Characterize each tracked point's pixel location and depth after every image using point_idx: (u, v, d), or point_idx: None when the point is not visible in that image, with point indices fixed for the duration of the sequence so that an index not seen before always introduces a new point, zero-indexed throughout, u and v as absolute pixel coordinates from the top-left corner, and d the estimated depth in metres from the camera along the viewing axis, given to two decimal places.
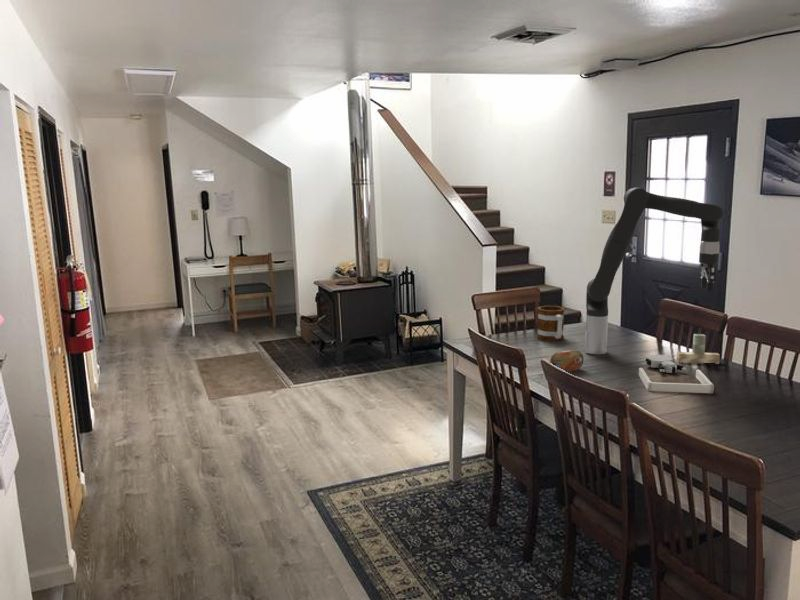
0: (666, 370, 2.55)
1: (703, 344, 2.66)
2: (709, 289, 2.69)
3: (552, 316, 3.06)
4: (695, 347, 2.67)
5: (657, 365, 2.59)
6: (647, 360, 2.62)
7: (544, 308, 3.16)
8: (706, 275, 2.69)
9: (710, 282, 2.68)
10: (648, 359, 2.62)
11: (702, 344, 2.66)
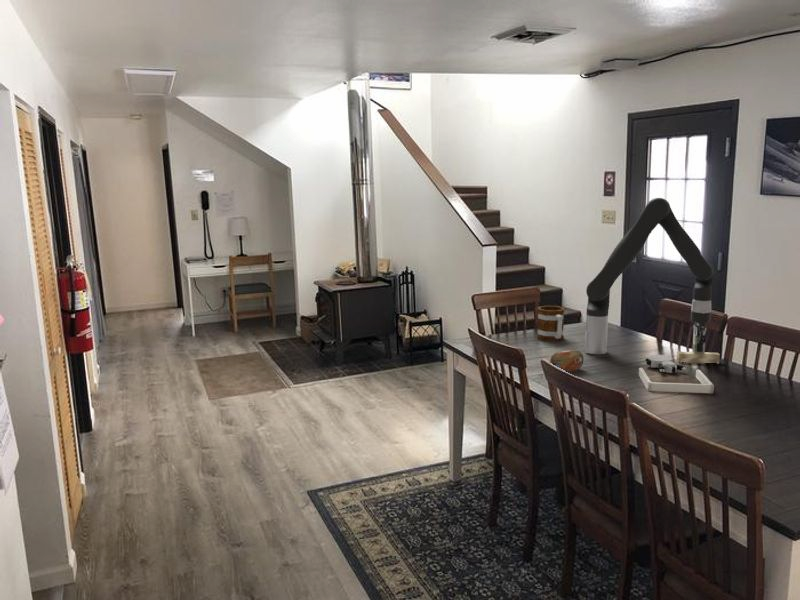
0: (666, 370, 2.55)
1: (703, 344, 2.66)
2: (699, 350, 2.65)
3: (552, 316, 3.06)
4: (695, 347, 2.67)
5: (657, 365, 2.59)
6: (647, 360, 2.62)
7: (544, 308, 3.16)
8: (697, 336, 2.65)
9: (700, 343, 2.64)
10: (648, 359, 2.62)
11: None
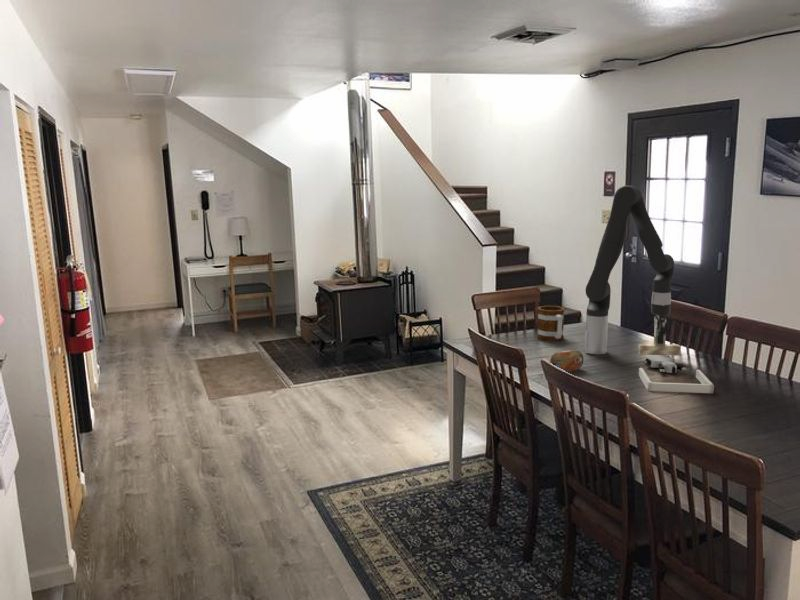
0: (666, 370, 2.55)
1: (664, 336, 2.68)
2: (660, 342, 2.67)
3: (552, 316, 3.06)
4: (656, 339, 2.68)
5: (657, 365, 2.59)
6: (647, 360, 2.62)
7: (544, 308, 3.16)
8: (657, 328, 2.66)
9: (660, 335, 2.66)
10: (648, 359, 2.62)
11: None
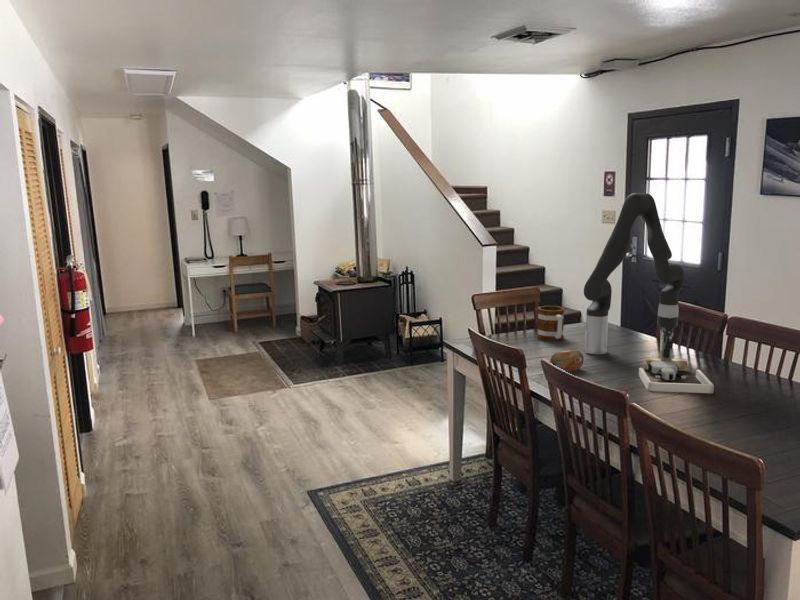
0: (664, 377, 2.46)
1: (670, 350, 2.56)
2: (666, 356, 2.55)
3: (552, 316, 3.06)
4: (662, 353, 2.57)
5: (657, 371, 2.51)
6: (649, 365, 2.54)
7: (544, 308, 3.16)
8: (663, 341, 2.55)
9: (667, 348, 2.54)
10: (650, 365, 2.54)
11: None
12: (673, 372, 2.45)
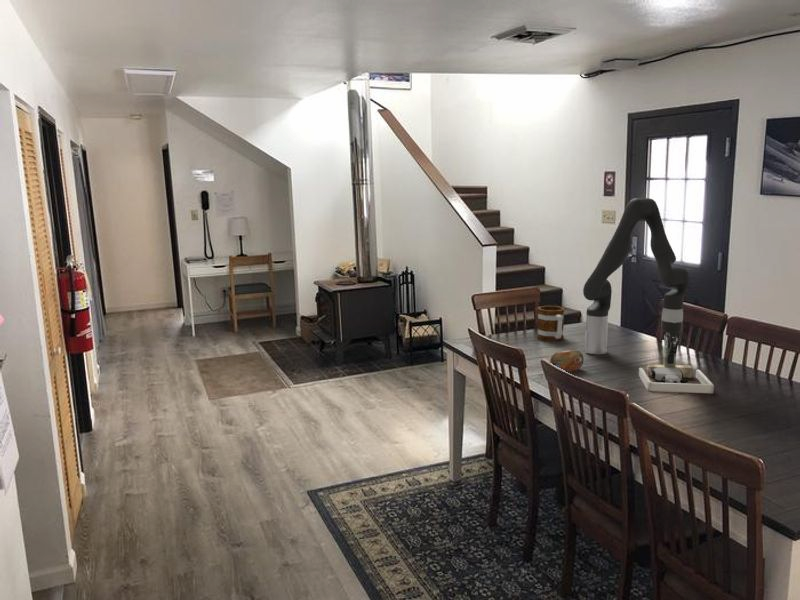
0: None
1: (674, 356, 2.48)
2: (670, 361, 2.48)
3: (552, 316, 3.06)
4: (665, 359, 2.49)
5: (661, 378, 2.43)
6: (652, 372, 2.46)
7: (544, 308, 3.16)
8: (667, 347, 2.47)
9: (671, 354, 2.47)
10: (654, 371, 2.46)
11: None
12: (677, 379, 2.37)
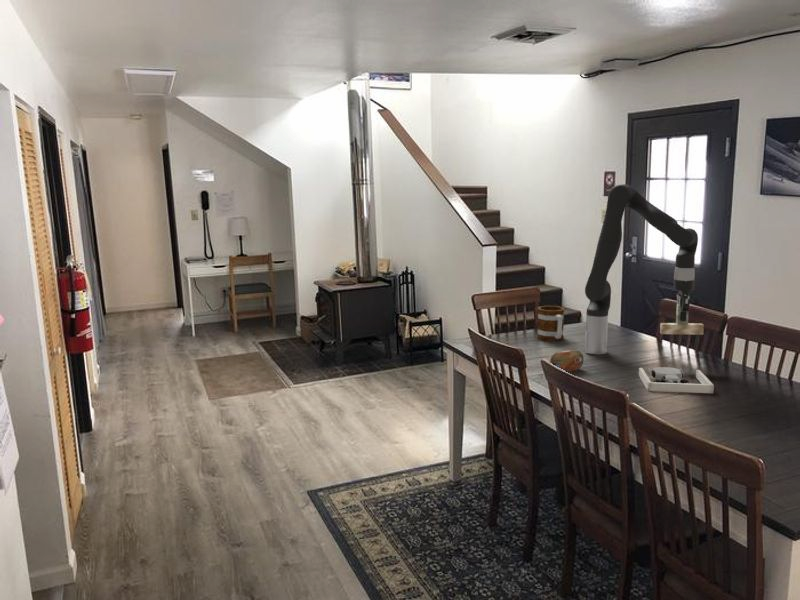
0: None
1: (686, 314, 2.59)
2: (682, 319, 2.58)
3: (552, 316, 3.06)
4: (678, 317, 2.60)
5: (661, 378, 2.43)
6: (652, 372, 2.46)
7: (544, 308, 3.16)
8: (680, 304, 2.58)
9: (683, 312, 2.57)
10: (654, 371, 2.46)
11: None
12: (677, 379, 2.37)
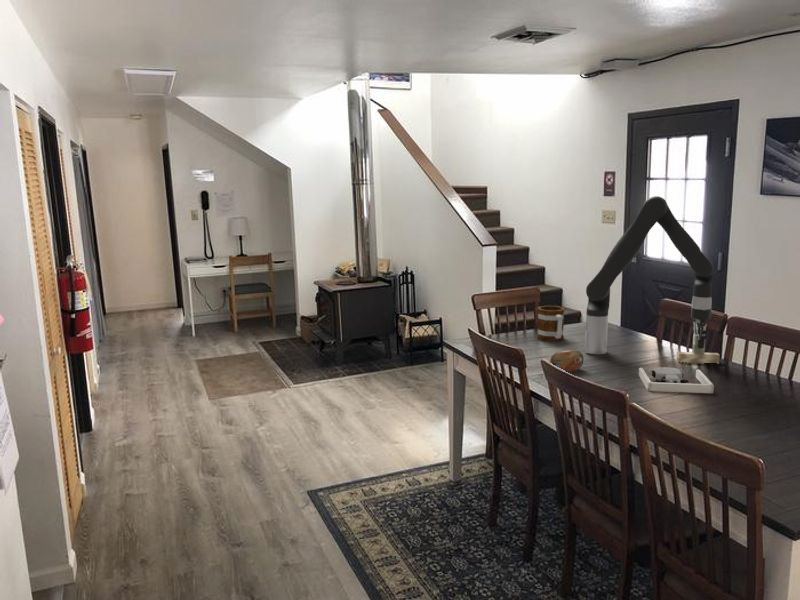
0: None
1: None
2: (700, 346, 2.64)
3: (552, 316, 3.06)
4: (695, 347, 2.67)
5: (661, 378, 2.43)
6: (652, 372, 2.46)
7: (544, 308, 3.16)
8: (697, 332, 2.64)
9: (701, 339, 2.63)
10: (654, 371, 2.46)
11: None
12: (677, 379, 2.37)
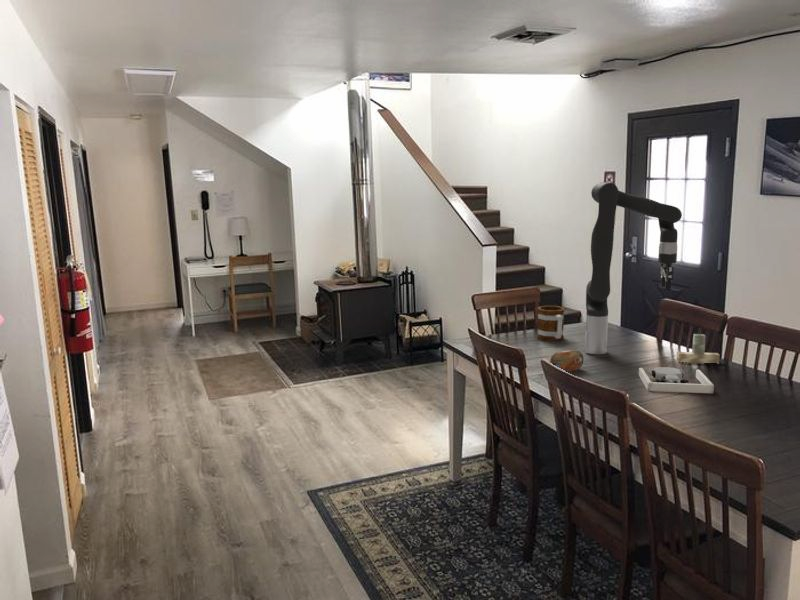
0: None
1: (703, 344, 2.66)
2: (667, 288, 2.80)
3: (552, 316, 3.06)
4: (695, 347, 2.67)
5: (661, 378, 2.43)
6: (652, 372, 2.46)
7: (544, 308, 3.16)
8: (664, 274, 2.80)
9: (668, 281, 2.79)
10: (654, 371, 2.46)
11: (702, 343, 2.66)
12: (677, 379, 2.37)
